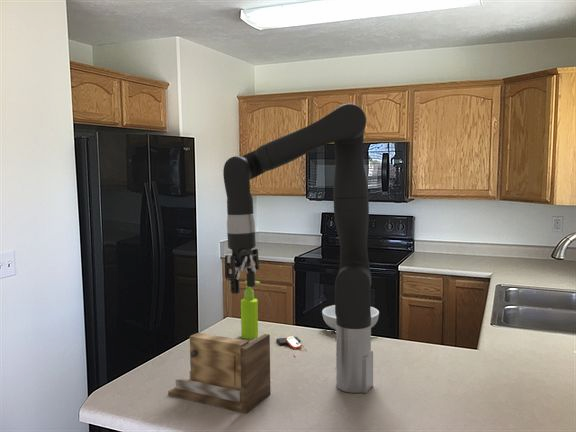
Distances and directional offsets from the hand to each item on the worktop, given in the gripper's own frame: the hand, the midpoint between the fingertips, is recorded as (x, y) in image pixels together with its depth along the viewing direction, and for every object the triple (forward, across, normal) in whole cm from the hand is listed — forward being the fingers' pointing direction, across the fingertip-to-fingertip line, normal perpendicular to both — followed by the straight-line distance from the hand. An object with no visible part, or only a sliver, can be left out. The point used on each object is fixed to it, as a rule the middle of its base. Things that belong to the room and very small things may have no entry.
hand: (243, 289), depth 140 cm
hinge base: (+26, -10, +3) cm, 28 cm away
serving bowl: (+27, +58, -11) cm, 65 cm away
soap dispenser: (+26, +36, +19) cm, 48 cm away
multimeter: (+27, +31, -2) cm, 42 cm away
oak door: (+25, -9, +3) cm, 27 cm away
